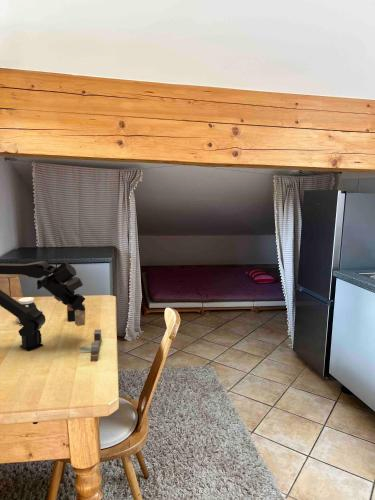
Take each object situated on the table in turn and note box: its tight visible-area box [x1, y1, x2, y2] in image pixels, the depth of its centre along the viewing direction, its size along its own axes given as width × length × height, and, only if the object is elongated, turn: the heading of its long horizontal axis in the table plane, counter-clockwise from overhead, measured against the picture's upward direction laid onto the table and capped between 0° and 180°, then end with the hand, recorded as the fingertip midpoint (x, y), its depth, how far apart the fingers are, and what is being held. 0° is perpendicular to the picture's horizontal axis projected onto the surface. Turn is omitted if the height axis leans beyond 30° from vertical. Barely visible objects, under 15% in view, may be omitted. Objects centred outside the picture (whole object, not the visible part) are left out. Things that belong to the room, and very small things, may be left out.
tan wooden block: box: [74, 302, 86, 327], centre depth 143 cm, size 3×3×9 cm
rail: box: [77, 328, 102, 362], centre depth 136 cm, size 20×8×5 cm, turn 10°
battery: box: [66, 305, 75, 322], centre depth 168 cm, size 4×7×10 cm, turn 116°
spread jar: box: [16, 296, 44, 326], centre depth 163 cm, size 12×11×12 cm
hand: (82, 309), depth 144 cm, fingers closed on tan wooden block, 3 cm apart
